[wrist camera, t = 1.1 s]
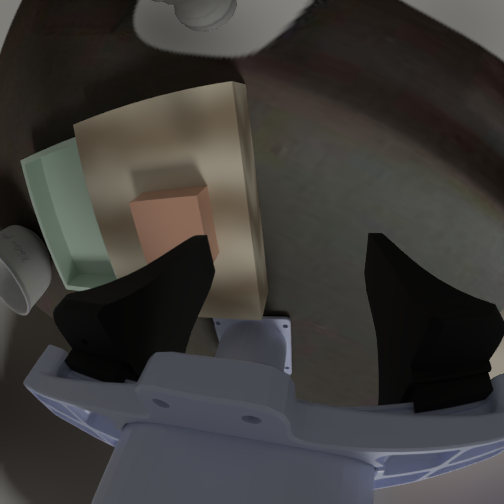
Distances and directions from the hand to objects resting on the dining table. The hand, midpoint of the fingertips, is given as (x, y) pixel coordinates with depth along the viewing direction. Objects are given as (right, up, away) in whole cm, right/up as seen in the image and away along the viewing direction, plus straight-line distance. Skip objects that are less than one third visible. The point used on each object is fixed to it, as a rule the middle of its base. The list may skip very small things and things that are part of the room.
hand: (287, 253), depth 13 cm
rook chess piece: (-5, +18, +3) cm, 19 cm away
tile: (-7, +2, +7) cm, 10 cm away
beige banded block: (-7, +4, +11) cm, 14 cm away
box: (-19, +4, +14) cm, 24 cm away
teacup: (-33, +1, +19) cm, 38 cm away
